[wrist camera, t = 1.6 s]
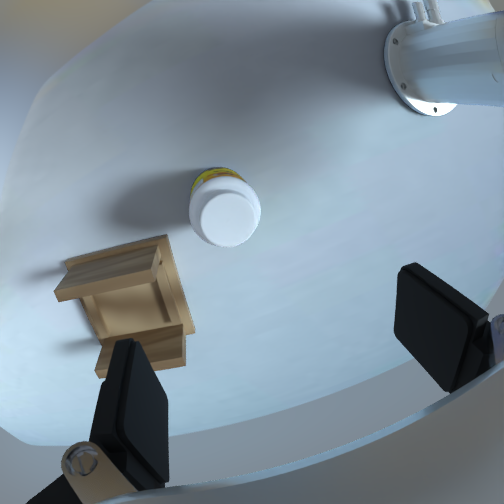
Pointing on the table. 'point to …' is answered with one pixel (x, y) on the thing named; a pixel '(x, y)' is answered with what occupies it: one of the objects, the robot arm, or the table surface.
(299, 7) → the table surface
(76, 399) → the table surface
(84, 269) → the holder
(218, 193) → the supplement bottle
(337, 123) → the table surface
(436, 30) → the robot arm
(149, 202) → the table surface
